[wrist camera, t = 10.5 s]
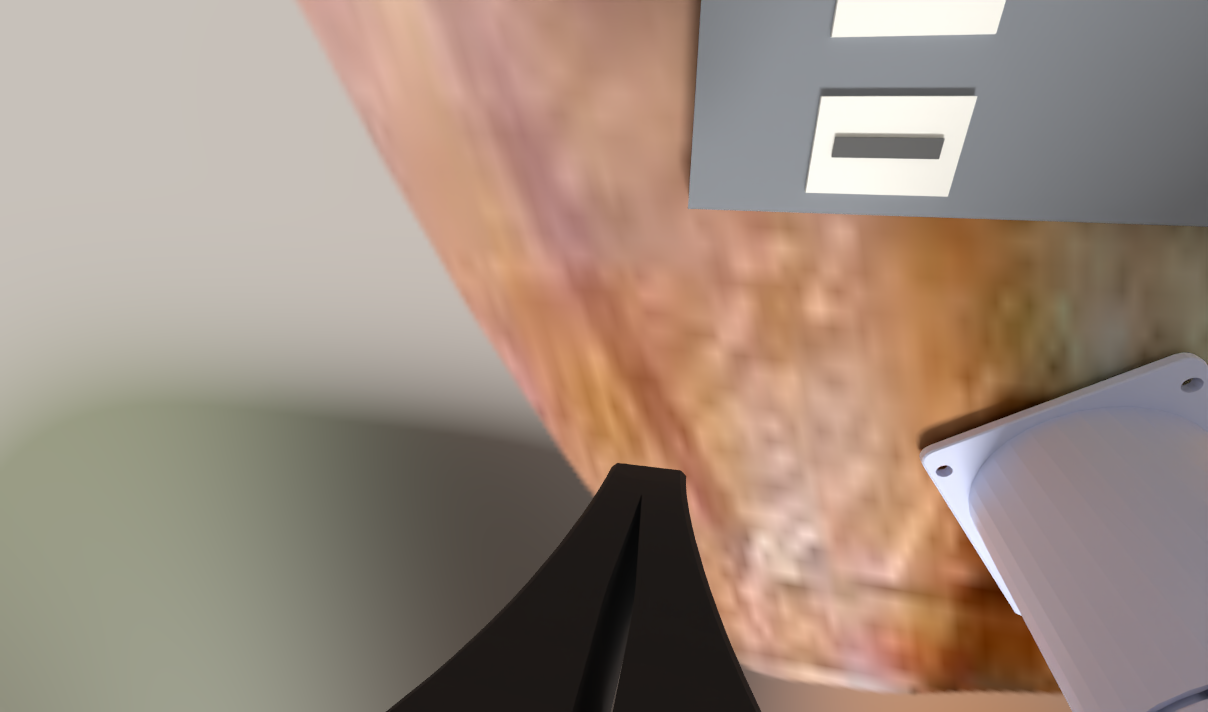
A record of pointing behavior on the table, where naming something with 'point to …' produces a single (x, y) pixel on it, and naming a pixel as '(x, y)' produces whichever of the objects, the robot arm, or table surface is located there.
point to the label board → (954, 109)
